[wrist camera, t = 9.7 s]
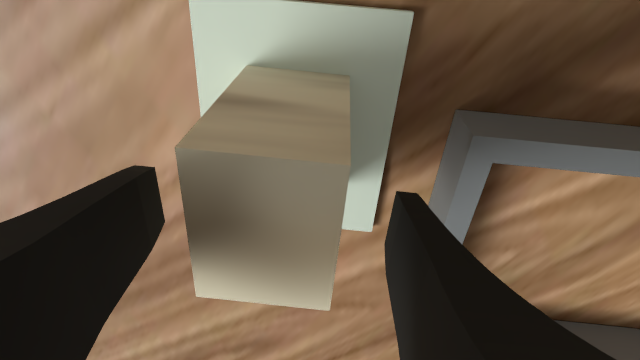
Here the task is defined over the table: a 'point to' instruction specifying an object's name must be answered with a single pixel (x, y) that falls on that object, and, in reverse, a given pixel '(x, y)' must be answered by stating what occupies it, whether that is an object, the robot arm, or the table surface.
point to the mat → (314, 68)
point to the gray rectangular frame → (534, 151)
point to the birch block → (268, 187)
